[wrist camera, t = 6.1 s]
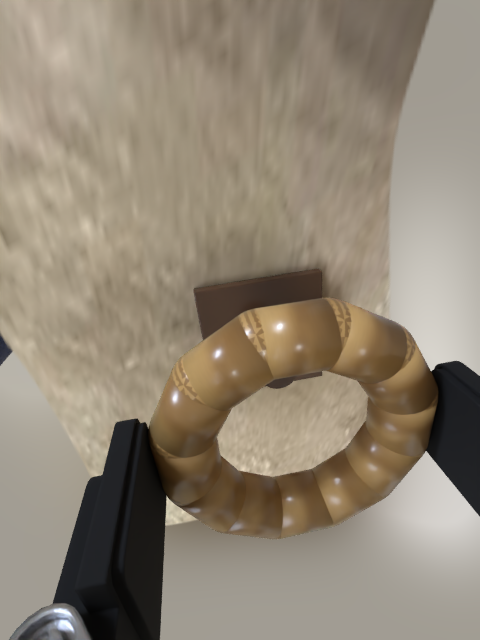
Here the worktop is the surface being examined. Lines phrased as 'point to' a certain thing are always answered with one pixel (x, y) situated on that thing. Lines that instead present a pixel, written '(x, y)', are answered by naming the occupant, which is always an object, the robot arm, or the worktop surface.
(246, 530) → the ring
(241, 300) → the peg stand
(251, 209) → the worktop surface
